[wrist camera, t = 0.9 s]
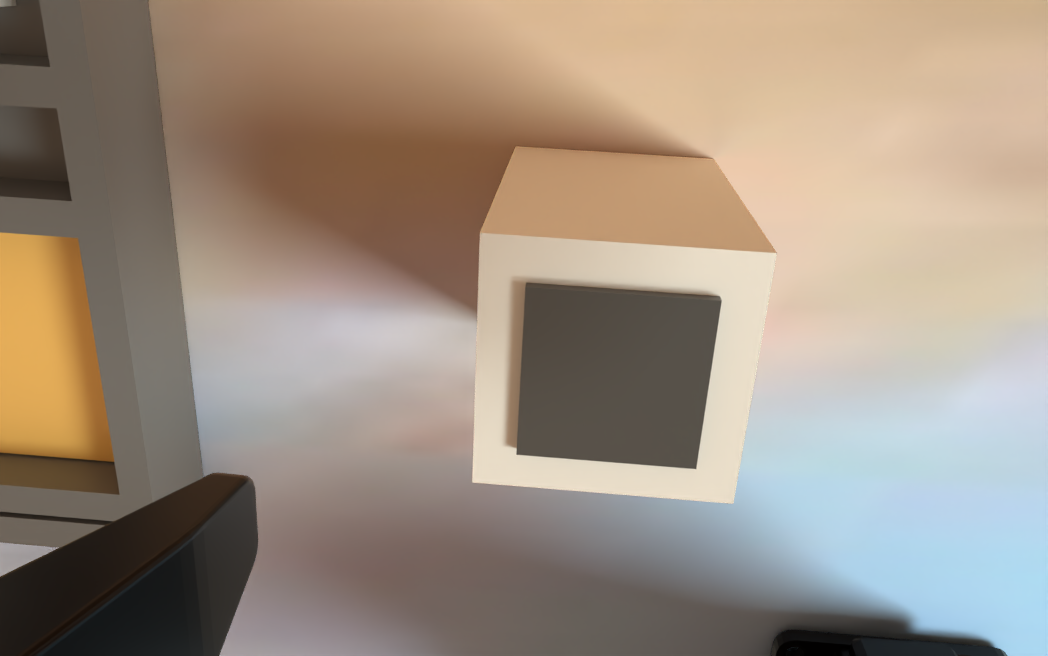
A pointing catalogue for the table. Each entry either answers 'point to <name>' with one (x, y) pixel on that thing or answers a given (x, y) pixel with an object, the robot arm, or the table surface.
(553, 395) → the plug
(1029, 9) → the table surface
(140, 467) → the pdu strip
